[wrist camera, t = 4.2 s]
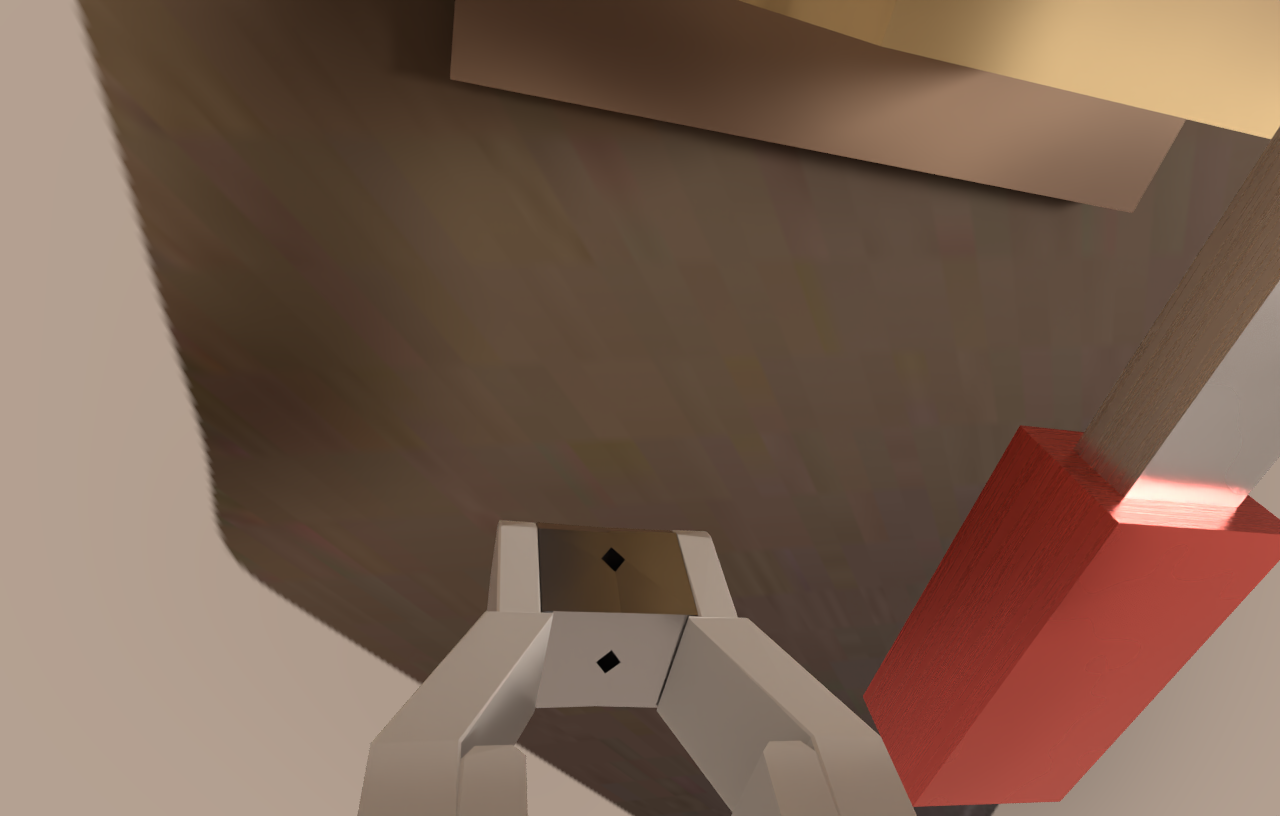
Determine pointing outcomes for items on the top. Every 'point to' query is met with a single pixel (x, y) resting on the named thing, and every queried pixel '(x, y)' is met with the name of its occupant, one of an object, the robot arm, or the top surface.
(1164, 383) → the valve lever
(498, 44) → the valve manifold
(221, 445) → the top surface
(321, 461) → the top surface
